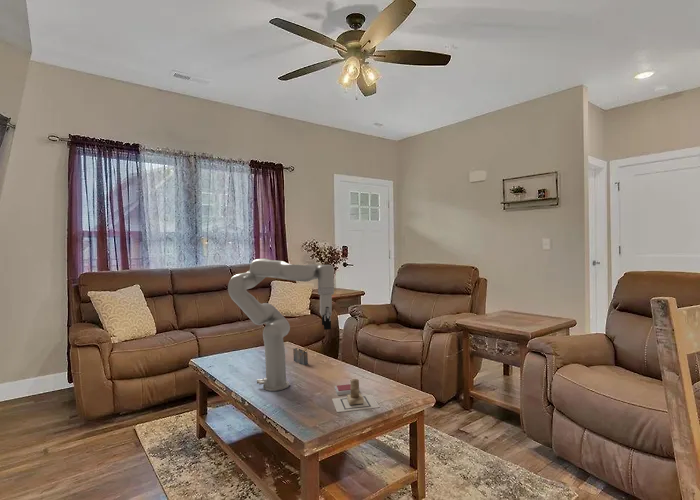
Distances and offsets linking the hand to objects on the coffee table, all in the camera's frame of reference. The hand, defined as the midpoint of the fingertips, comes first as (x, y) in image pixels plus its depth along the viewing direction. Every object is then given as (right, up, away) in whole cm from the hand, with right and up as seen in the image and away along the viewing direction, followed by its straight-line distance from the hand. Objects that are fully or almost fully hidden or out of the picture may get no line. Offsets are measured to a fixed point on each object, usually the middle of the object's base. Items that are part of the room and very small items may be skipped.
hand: (326, 327), depth 189 cm
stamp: (+13, -29, -18) cm, 37 cm away
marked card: (+13, -29, -18) cm, 37 cm away
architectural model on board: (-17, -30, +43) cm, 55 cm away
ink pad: (+10, -29, -3) cm, 31 cm away
